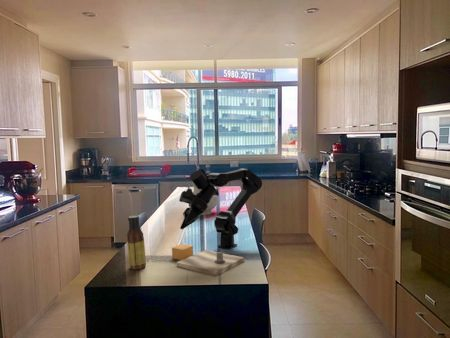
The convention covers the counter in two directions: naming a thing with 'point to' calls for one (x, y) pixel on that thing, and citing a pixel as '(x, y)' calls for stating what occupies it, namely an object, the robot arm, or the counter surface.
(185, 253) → the amber foam cube
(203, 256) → the birch board
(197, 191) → the ceramic pitcher
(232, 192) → the counter surface
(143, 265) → the sauce bottle
